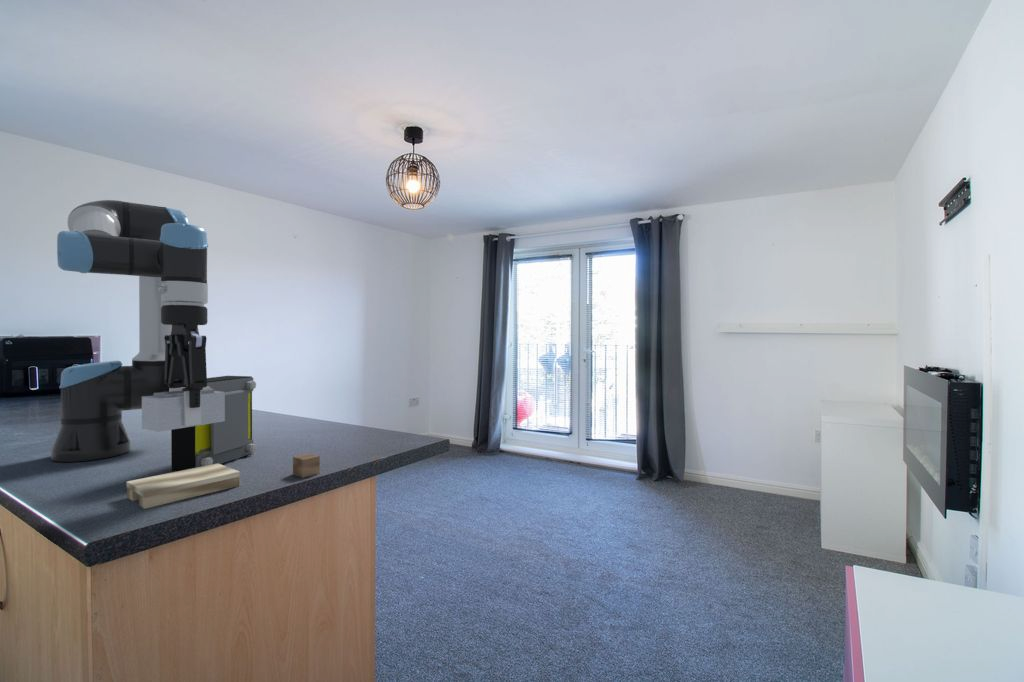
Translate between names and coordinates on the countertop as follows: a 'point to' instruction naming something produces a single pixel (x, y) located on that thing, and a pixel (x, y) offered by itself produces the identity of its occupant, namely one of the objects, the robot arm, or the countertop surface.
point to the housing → (180, 409)
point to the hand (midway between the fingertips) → (185, 422)
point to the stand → (181, 485)
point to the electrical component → (218, 429)
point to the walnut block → (306, 465)
